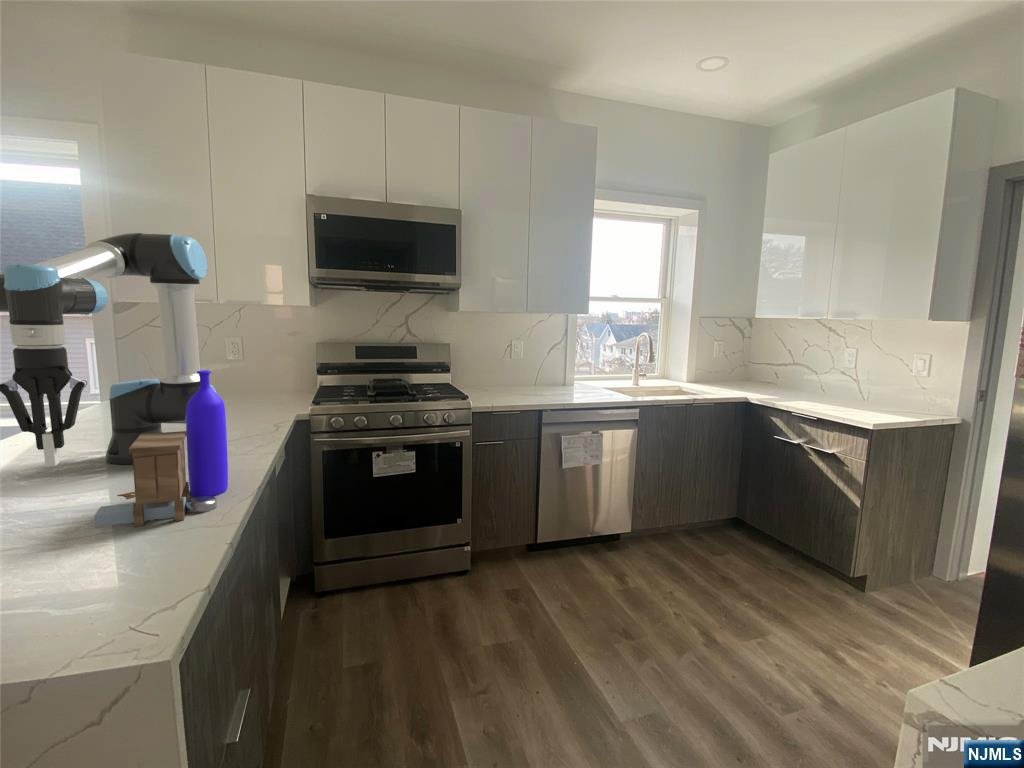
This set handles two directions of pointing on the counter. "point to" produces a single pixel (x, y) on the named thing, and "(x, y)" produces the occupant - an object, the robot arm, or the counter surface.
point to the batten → (125, 513)
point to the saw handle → (128, 495)
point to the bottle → (206, 441)
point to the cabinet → (159, 472)
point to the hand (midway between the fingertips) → (52, 464)
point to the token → (201, 504)
